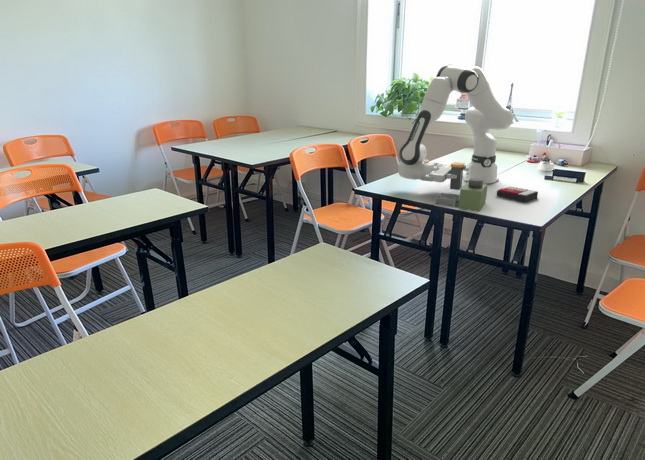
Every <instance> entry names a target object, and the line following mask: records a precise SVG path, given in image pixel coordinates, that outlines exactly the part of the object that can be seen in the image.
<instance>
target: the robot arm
mask: <svg viewBox="0 0 645 460" xmlns="http://www.w3.org/2000/svg"><path fill="white" fill-rule="evenodd" d="M453 91H455V92H459V93H466V95H467V98H468V101H469V103H470V105H471V107H469V108H468V109H467V110H466V111H465V115H464V120H465V122H466V123H465V124H466V125H468V127H469V128H470V129H471V132H472V135H473V140H474V141H473V142H474V143H473V154H472V156H471V161H470V162H469V163H468V164H467V165H466V169H465V170H463V177H462V180H463V182H469V179H481V180H483V184H487V185H488V184H494V183H496V182H499V181H500V178H498V165H497V164H496V160H497V155H496V150H497V139H496V138H495V137H494V136H493V135H492V133H491V131H490V130H495V131H496V130H497V131H499V130H506V129H508V128H509V127H510V126H511V125H512V123H513V120H514V117H513V116H514V114H513V113H512V111H511V110H510V109H508V108H507V107H505V106H503V105H502V104H501V103H500V102H499V101H498V100H497V98H496V97H495V96H494V94H493V92H492V88H491V86H490V82H489V80H488V78H487V76H486V74H485V72H484V71H483V69H482V68H481V67H479V66H471V67H468V68H467V67H464V66H460V65H453V64H445V65H442V66H441V67H440V69H439V70H438V72H437V73H436V76H435V77H434V78H433V79H432V80H431V82H430V84H429V85H428V87H427V90H426V92H425V94H424V96H423V99H422V102H421V105H420V109H419V112H418V115H417V117H416V120H415V122H414V124H413V126H412V129H411V131H410V134H409V136H408V138H407V140H406V142H405V143H404V144H402V146H401V148H400V149H399V151H398V153H399V154H398V155H399V159H400V161H399V162H398V166H397V171H398V175H399V176H400V177H402V178H404V179H408V180H415V181H416V180H420V181H423V182H424V181H425V182H431V183H432V182H435V183H445V181H446V180H451V179H456V178H457V174H451V164H450V165H449V164H445V163H444V164H443V163H440V162H429V163H424V162H425V159H427V156H428V155H427V154H428V149H427V147H426V145H425V144H423V143H422V142H423V139H424V137H425V135H426V133H427V130H428V128H429V127H430V126H431V125H432V124H433V123H434V122H436V121H437V120H438V119H440V118H441V116H442V115H443V112H444V111H445V109H446V107H447V103H448V100H449V98H450V94H451V93H452V92H453Z"/></svg>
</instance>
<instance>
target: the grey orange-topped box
mask: <svg viewBox="0 0 645 460" xmlns="http://www.w3.org/2000/svg"><path fill="white" fill-rule="evenodd" d="M450 166H451V174H457V178H456V179H449V180H450V184H449V190H456V191H460V189H461V188H462V187H463V173H464V170H465V169H466V167H467V165H466V163H465V162H459V161H458V162H456V161H453V162H451V164H450Z"/></svg>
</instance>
